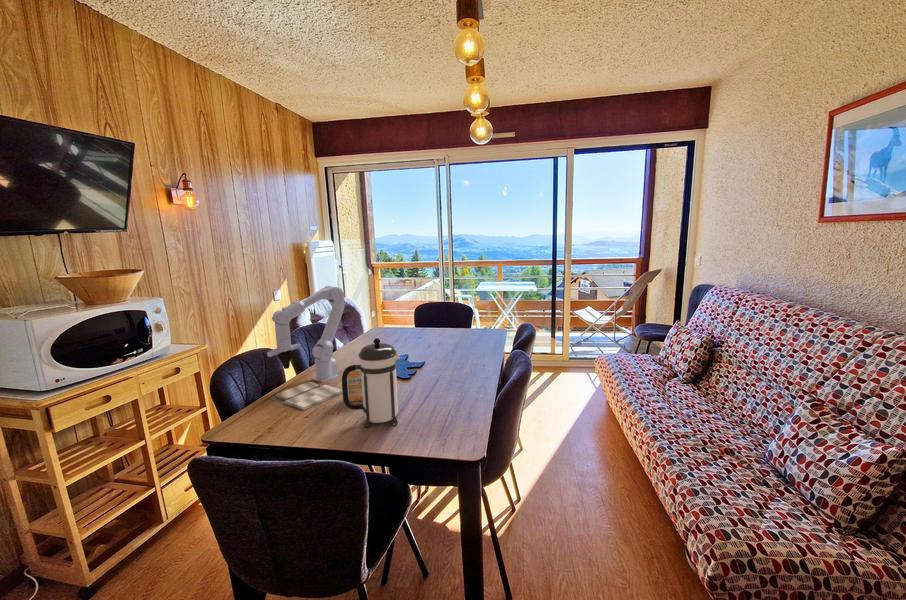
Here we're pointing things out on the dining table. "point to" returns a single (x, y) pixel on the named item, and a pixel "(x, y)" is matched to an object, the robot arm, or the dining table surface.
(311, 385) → the loose plank
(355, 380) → the supplement box
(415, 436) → the dining table surface
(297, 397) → the floor panel
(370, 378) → the coffee press
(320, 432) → the dining table surface
